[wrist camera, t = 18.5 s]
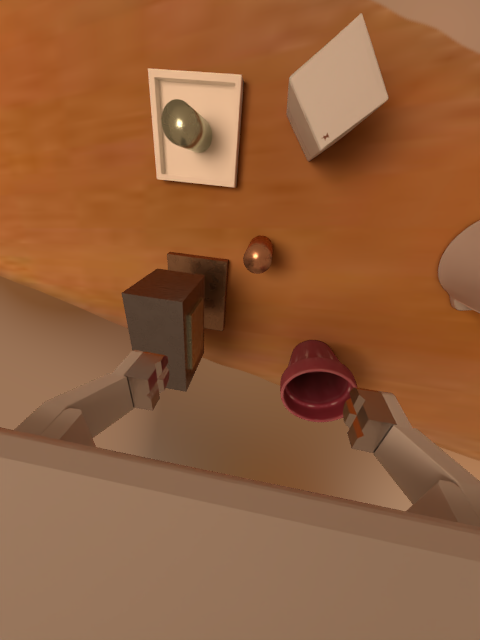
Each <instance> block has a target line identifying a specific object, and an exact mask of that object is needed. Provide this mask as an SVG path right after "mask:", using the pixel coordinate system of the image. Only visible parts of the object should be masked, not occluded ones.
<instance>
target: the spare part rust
mask: <svg viewBox="0 0 480 640" xmlns="http://www.w3.org/2000/svg"><path fill="white" fill-rule="evenodd" d="M272 252H273V244H272V242H271V240H270V239H269V238H267V237H266V236H257V237H255V238H253V239H252V241H251V242H250V244H249V246H248V248H247V250H246V252H245V254H244V258H243V261H244V265H245V267H246V268H247V269H248V270H249V271H250V272H252V273H256V274H259V273H263V272H265V271H266V270H268V268H269V267H270V265H271V262H272Z"/></svg>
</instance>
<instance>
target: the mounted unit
mask: <svg viewBox="0 0 480 640" xmlns="http://www.w3.org/2000/svg"><path fill="white" fill-rule="evenodd" d="M167 259H168V270H163V269H156V270H155V271H153V272H152V273H150V274H149V275H147V276H146V277H144V278H143V279H141V280H140V281H139V282H137V283H136V284H134V285H133V286H131V287H130V288H128V289H127V290H125V291H124V292H122V297H123V303H124V308H125V313H126V318H127V324H128V329H129V334H130V339H131V344H132V350H139V351H144V352H150V353H155V354H161V355H166V356H167V357H168V364H167V365H166V367H167V368H168V369H169V380H168V383H167V386H166V388H169V389H175V390H181V391H187V389H188V387H189V384H190V382H191V380H192V378H193V376H194V373H195V371H196V369H197V367H198V365H199V362H200V360H201V358H202V356H203V354H204V328H207V329H213V330H219V331H223V329H224V324H225V308H226V293H227V277H228V262H229V260H227V259H219V258H212V257H204V256H197V255H189V254H182V253H174V252H169V253H168V254H167Z"/></svg>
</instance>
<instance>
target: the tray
mask: <svg viewBox="0 0 480 640" xmlns="http://www.w3.org/2000/svg"><path fill="white" fill-rule="evenodd" d="M148 75H149V87H150V99H151V112H152V124H153V136H154V149H155V161H156V173H157V179H160V180H170V181H179V182H188V183H198V184H207V185H216V186H226V187H236V184H237V170H238V156H239V141H240V127H241V113H242V99H243V85H244V80H243V78H242V75H237V74H222V73H207V72H192V71H178V70H163V69H148ZM174 99H180V100H183V101H185V102H186V103H187V104H188V105H190V106H191V107H192V108H193V109H194V110H195V111H196V112H198V113H199V114H200V115H201V116H202V117H203V118H204V119H206V120H207V122H208V123H209V125H210V127H211V130H212V142H211V145H210V146H209V148H208V149H207V150H206V151H204V152H202V153H196V152H193V151H191V150H188V149H186V148H183V147H180V146H178V145H175V144H173V143H172V142H171V141H169V139H168V138H167V137H166V135H165V133H164V131H163V128H162V112H163V109H164V107H165V106H166V104H167V103H168V102H170V101H171V100H174Z"/></svg>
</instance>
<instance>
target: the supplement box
mask: <svg viewBox="0 0 480 640" xmlns="http://www.w3.org/2000/svg"><path fill="white" fill-rule="evenodd" d="M387 100H388V94H387V91H386V88H385V85H384V81H383V78H382V75H381V72H380V68H379V65H378V62H377V59H376V56H375V53H374V49H373V46H372V43H371V40H370V37H369V34H368V31H367V28H366V24H365V21H364V18H363V15H362V13H361V14H360V15H359V16H358V17H356V18H355V19H354V20H353V21H352V22H351V23H350V24H349V25H348V26H347V27H346V28H344V29H343V30H342V31H341V32H340V33H339V34H338V35H337V36H335V37H334V38H333V39H332V40H331V41H330V42H329V43H327V44H326V45H325V46H324V47H323V48H322V49H321V50H320V51H318V52H317V53H316V54H315V55H314V56H313V57H312V58H310V59H309V60H308V61H307V62H306V63H305V64H304V65H303V66H301V67H300V68H299V69H298V70H297V71H296V72H295V73H293V74H292V75H291V76H290V77H289V88H288V102H287V117H288V119H289V121H290V124H291V126H292V128H293V130H294V133H295V135H296V137H297V139H298V141H299V143H300V145H301V148H302V150H303V152H304V154H305V156H306V158H307V160H308V161H310V160H312V159H313V158H315V157H316V156H317V155H319V154H320V153H322V152H323V151H325V150H326V149H327V148H329V147H330V146H332V145H333V144H334V143H336V142H337V141H338V140H340V139H341V138H342V137H343V136H345V135H346V134H347V133H348V132H350V131H351V130H352V129H354V128H355V127H356V126H357V125H358V124H359V123H361V122H362V121H363V120H364V119H366V118H367V117H368V116H369V115H371V114H372V113H373V112H374V111H375V110H377V109H378V108H379V107H380V106H381V105H382V104H384V103H385V102H386V101H387Z"/></svg>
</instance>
